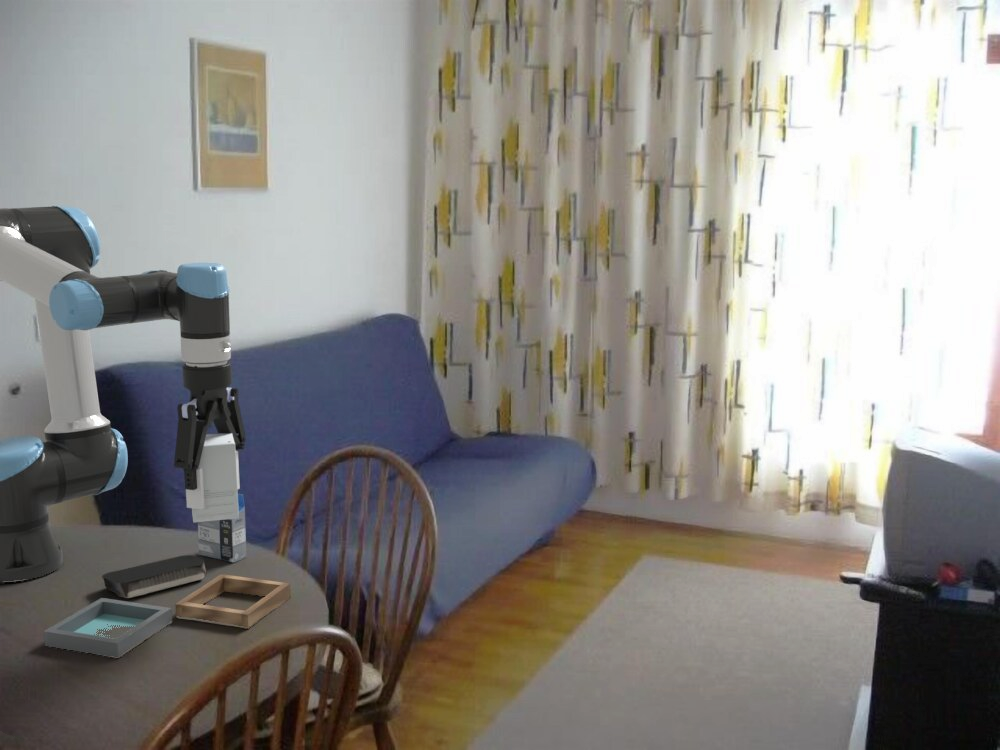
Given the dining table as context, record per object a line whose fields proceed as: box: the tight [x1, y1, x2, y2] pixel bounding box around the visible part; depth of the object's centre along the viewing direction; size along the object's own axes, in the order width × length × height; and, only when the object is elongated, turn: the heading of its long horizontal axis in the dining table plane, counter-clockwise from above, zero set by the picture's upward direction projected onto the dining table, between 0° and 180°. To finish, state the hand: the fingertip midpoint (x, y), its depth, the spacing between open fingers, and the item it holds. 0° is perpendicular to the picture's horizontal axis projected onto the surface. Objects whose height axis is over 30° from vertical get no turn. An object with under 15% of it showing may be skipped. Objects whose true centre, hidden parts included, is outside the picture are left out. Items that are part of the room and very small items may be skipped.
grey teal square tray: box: [43, 597, 173, 657], centre depth 169 cm, size 13×13×2 cm
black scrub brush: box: [101, 555, 207, 599], centre depth 188 cm, size 16×8×4 cm, turn 129°
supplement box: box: [191, 433, 239, 523], centre depth 173 cm, size 7×7×13 cm
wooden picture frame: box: [174, 573, 292, 627], centre depth 179 cm, size 13×13×2 cm
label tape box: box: [197, 493, 247, 563], centre depth 201 cm, size 9×4×12 cm, turn 60°
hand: (214, 497), depth 174 cm, fingers closed on supplement box, 10 cm apart
